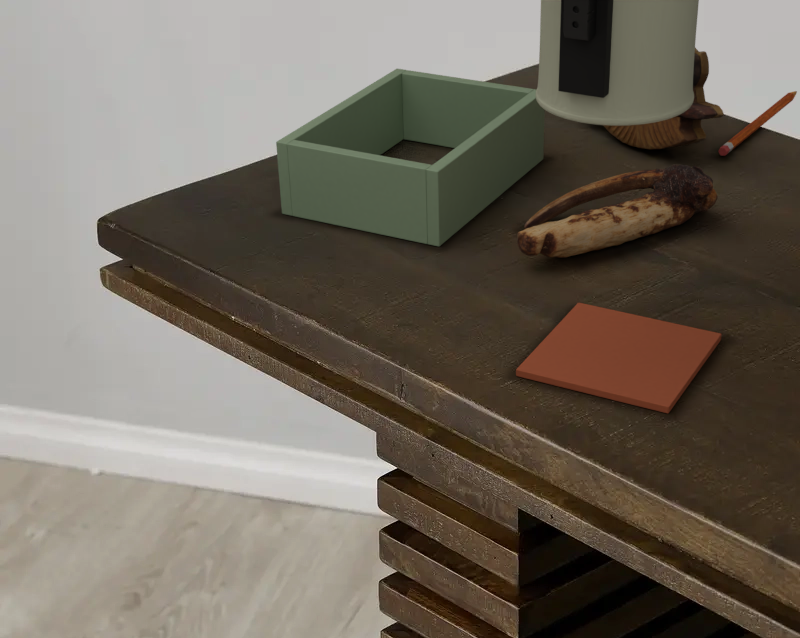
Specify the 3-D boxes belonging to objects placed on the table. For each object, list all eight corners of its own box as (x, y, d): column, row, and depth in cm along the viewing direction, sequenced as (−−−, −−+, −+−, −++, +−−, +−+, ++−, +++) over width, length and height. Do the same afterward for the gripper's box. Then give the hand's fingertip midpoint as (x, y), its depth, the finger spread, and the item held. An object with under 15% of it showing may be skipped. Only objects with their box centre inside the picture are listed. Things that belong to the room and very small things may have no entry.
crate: (543, 159, 117) (545, 90, 114) (439, 247, 103) (438, 171, 100) (398, 134, 123) (396, 68, 120) (281, 214, 109) (275, 141, 106)
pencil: (718, 155, 116) (717, 147, 116) (792, 94, 129) (792, 87, 129) (727, 156, 116) (726, 148, 116) (801, 95, 129) (801, 87, 128)
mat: (721, 340, 90) (721, 333, 90) (668, 414, 83) (668, 406, 82) (578, 308, 94) (578, 302, 94) (515, 376, 87) (515, 369, 87)
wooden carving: (551, 126, 123) (554, 14, 118) (587, 113, 126) (592, 3, 121) (696, 178, 113) (707, 57, 107) (732, 163, 115) (744, 44, 110)
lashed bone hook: (656, 191, 112) (470, 241, 104) (660, 135, 109) (470, 181, 101) (737, 227, 105) (545, 283, 97) (743, 168, 102) (546, 220, 94)
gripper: (647, -388, 78) (625, 10, 90) (472, -362, 63) (474, 117, 74) (778, -390, 75) (738, 24, 87) (628, -363, 59) (604, 138, 71)
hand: (616, 66), depth 81 cm, fingers closed on can, 9 cm apart
